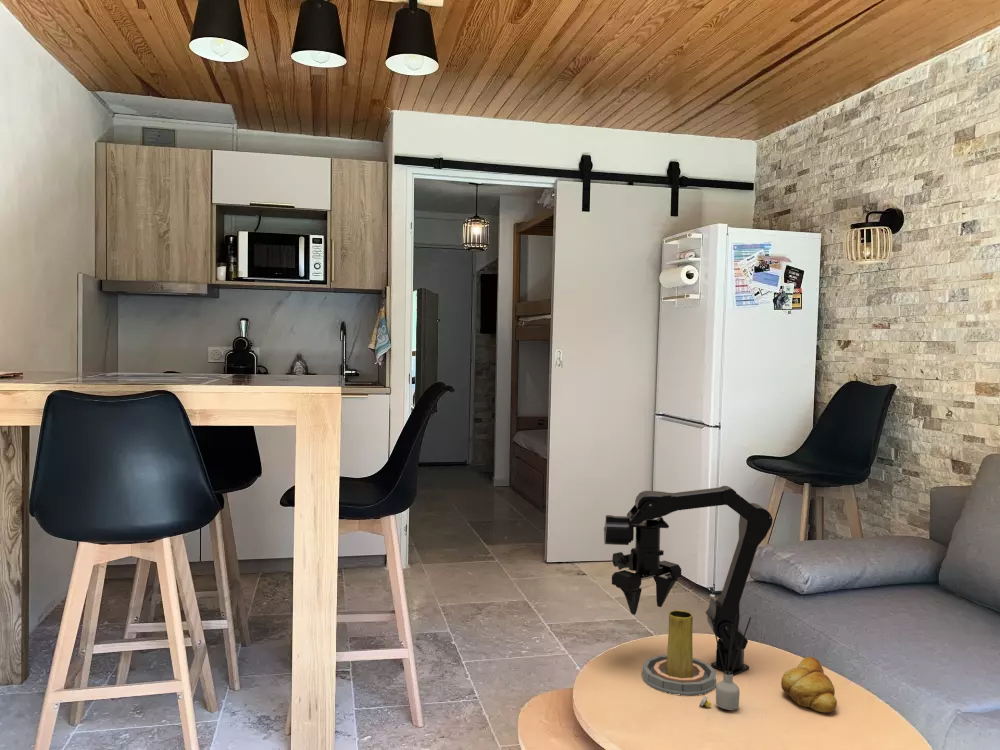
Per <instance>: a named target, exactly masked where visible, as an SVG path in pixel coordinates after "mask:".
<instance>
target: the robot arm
mask: <svg viewBox="0 0 1000 750" xmlns="http://www.w3.org/2000/svg"><path fill="white" fill-rule="evenodd" d="M718 506H728V507H729V508H730V509H732V510H733V511H734V512H735V513H737V514H738V515H739V520H738V541H737V543H736V547H735V550H734V553H733V556H732V559H731V562H730V565H729V569H728V572H727V576H726V578H725V582H724V583H723V587H722V590H721V594H720V595H719V596H718V597H717V598H716V599H715V598H713V597H710V600H709V605H708V608H707V610H706V611H705V615H706V616H707V618H706V619H707V623H708V625H709V627H710V629H711V630H712V633H714V628H713V624H712V620H711V615H712V619H713V623H714V627H715V631H716V635H717V640H718V644H719V648H720V652H721V656H722V661H723V665H724V669H725V671H727V667H728V657H729V648H730V639H731V629H732V624H733V632H734V626H735V619H736V614H737V622H736V628H735V634H734V641H733V647H732V653H731V660H730V666H729V671H730V672H731V671H732V668H733V665H734V662H735V660H736V657H737V654H738V651H739V648H740V645H741V642H742V639H743V636H744V633H743V631H742V630H741V629H740V627H739V625H740V618H741V616H740V615H741V614H740V612H741V611H740V604H741V599H742V596H743V593H744V590H745V587H746V583H747V580H748V577H749V574H750V571H751V568H752V564H753V561H754V558H755V555H756V552H757V550H758V547H759V546H760V544H761V543H762V542H763V541H764V540H765V539H766V537H767V535H768V533H769V531H770V530H771V528H772V525H773V521H774V520H773V516H772V515H771V513H770V512H769V511H768V510H767V509H766V508H764V507H763V506H762V505H760V504H758V503H754V502H748V500H746V498H744V497H742V496H741V495H740V494H738V493H737V491H736V490H734V489H733V488H732V487H730V486H728V485H722V486H718V487H712V488H704V489H695V490H689V491H688V490H687V491H686V490H685V491H678V492H666V491H659V490H643V491H641V492H638V495H636V497H635V500H634V505H633V506H632V507H631V508H630V510H629V511H628V512H627V514H626V515H625V516H623V515H620V516H618V515H617V516H616V515H611V514H606V515H605V522H604V527H603V541H604V545H611V546H612V545H617V546H619V545H620V546H629V545H630V544H631V543H632V542H633V541H634V537H635V545H634V546H635V547H632V548H631V549H630V553H629V554H624V553H623V552H622V551H619V552H615V553H612V558H611V559H612V564H613V567H615V568H618V570H619V571H615V572H613V574H611V585H613V586H615V587H616V588H618V589H620V590H621V591H622V593H623V595H624V598H625V600H626V603H627V606H628V608H629V612H630V614H631V615H633V616H635V615H636V614H637V611H638V608H639V603H640V598H641V595H642V594H641V593H642V588H641V585H642V581H645V580H648V579H651V578H653V581H655V591H656V592H655V594H656V595H655V596H656V598H655V599H656V606H657V607H659V608H663V607H662V606H664V603H665V601H666V599H667V598H668V595H669V594H670V592H671V590H672V588H673V587H674V585H675V584H676V582H678V581H679V578H681V577H682V568H681V566H680V565H679V564H677V563H674V562H670V561H667V560H661V559H660V557H661V556H664V554H665V553H664V550H663V549H661V529H669V527H670V525H669V524H668V522H667V521H665V520H664V518H663V517H665V516H667V515H669V514H670V515H671V514H672V513H674V512H677V511H685V510H694V509H700V508H701V509H702V508H710V507H718ZM634 528H635V530H634ZM634 531H635V532H634ZM634 533H635V534H634ZM634 535H635V536H634ZM627 568H628V570H629V571H628V570H625V569H627ZM634 571H635V572H634ZM714 635H715V633H714ZM732 638H733V633H732ZM748 642H749V640H748V639H747V638H746V636H745V637H744V640H743V643H742V646H741V649H740V652H739V655H738V658H737V661H736V664H735V667H734V670H733V676H735V675H737V674H740V673H742V672H744V671H747V670H749V669H750V665H747V664H746V663H745V664H744V662H745V660H744V659H745V649H746V647H747V645H748ZM731 645H732V642H731ZM715 653H716V654H715V662H712V663H711V664H710V666H711V667H712V668H715V669H718V670H720V671H722V672H724V670H723V666H722V662H721V658H720V654H719V649H718V645H717V644H716V650H715Z"/></svg>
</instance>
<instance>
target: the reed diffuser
mask: <svg viewBox="0 0 1000 750" xmlns="http://www.w3.org/2000/svg"><path fill="white" fill-rule="evenodd" d="M711 620H712V624H713V628H714V632H713V633H715V634H714V636H715V641H716V646H717V645H718V649H719V654H720V658H721V662H722V666H723V670H724V671H723V673H722V674H723V677H722V678H723V679H722V680H721V681H719V682H718V683H716V687H715V704H716V705H717V706H718V707H719V708H720V709H724V710H727V711H728V710H729V711H731V710H733V711H734V710H738V709H739V706H740V693H741V692H740V688H739V686H738V685H737V684H736V683H735V682H734V681H733V680H734V679H733V678H734V677H733V676H734V675H733V670H734V667H735V664H736V661H737V658H738V655H739V652H740V649H741V646H742V643H743V640H744V637H746V634H747V631H748V628H749V626H750V623H751V620H752V617H751V616H750V617H749V619H748V621H747V624H746V628H745V630H744V633H743V634H744V636H743V639H742V642H741V645H740V648H739V651H738V654H737V657H736V660H735V662H734V665H733V668H732V671H731V672H730V671H729V666H730V660H731V653H732V647H733V641H734V634H735V628H736V622H737V614H736V619H735V626H734V632H733V624H732V629H731V639H730V648H729V657H728V667H727V671H725V669H724V665H723V661H722V656H721V652H720V648H719V644H718V637H717V635H716V631H715V627H714V623H713V619H712V615H711ZM732 633H733V638H732ZM731 642H732V645H731ZM711 705H712V703H711V702H710V701H709V700H708V697H707V696H706V695H704V696H703V698H702V699H701V700H700V703H699V706H700V707H704V706H705V707H706V708H710V707H711Z"/></svg>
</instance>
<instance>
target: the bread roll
mask: <svg viewBox="0 0 1000 750" xmlns="http://www.w3.org/2000/svg"><path fill="white" fill-rule="evenodd" d="M780 686H781V690H782V691H783V693H784V694H785V695H787V696H789V697H790V698H791V700H793V701H794V702H795V703H796V704H797V705H799V706H802V707H805V708H807V707H808V708H810V709H812V710H814V711H816V712H820V713H832V712H834V711H835V709H836V708H837V704H838V700H837V699H836V696H835V692H836V691H835V686H834V685H833V682H832V681H831V679H830V678H829V677H828V675H827V674H825V671H824V668H823V666H822V664H821V662H820V661H819V660H818V659H817V658H815V657H812V656H806V657H804V658H802V659H801V661H800V662H799V664H798V665H797V667H793V668H791V669H788V670H786V671H785V672H784V674H783V675H782V677H781V682H780Z"/></svg>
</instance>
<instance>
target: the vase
mask: <svg viewBox="0 0 1000 750" xmlns="http://www.w3.org/2000/svg"><path fill="white" fill-rule="evenodd" d="M693 619H694V618H693V614H692V613H691V612H689V611H687V610H684V609H683V610H682V609H681V610H680V609H673V610H671V611H669V612H668V638H667V652H666V655H667V667H666V675H669V676H672V677H677V678H692V677H693V658H694V657H693V656H694V654H693V650H694V649H693V631H694V630H693V626H694V625H693Z"/></svg>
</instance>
